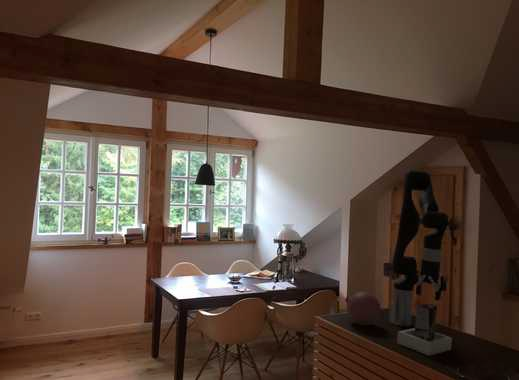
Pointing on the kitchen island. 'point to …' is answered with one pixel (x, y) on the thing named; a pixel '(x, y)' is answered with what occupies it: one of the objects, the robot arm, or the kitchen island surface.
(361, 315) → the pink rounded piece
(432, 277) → the robot arm
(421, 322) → the coffee box
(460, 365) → the kitchen island surface
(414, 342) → the carton dock
